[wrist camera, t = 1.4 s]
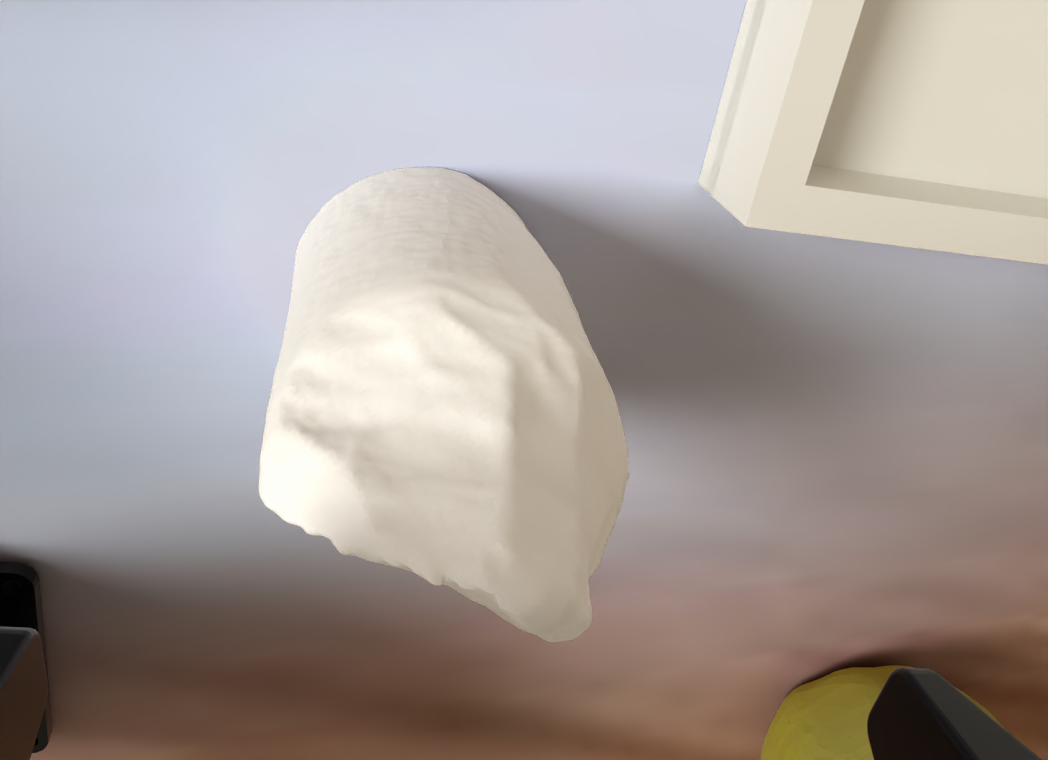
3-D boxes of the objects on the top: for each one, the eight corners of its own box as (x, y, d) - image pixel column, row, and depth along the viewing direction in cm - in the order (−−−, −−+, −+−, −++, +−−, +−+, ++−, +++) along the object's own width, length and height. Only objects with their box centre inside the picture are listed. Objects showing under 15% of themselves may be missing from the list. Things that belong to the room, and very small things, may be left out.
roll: (191, 794, 11) (275, 414, 9) (272, 354, 22) (321, 123, 19) (631, 824, 13) (801, 509, 11) (511, 401, 23) (583, 194, 21)
